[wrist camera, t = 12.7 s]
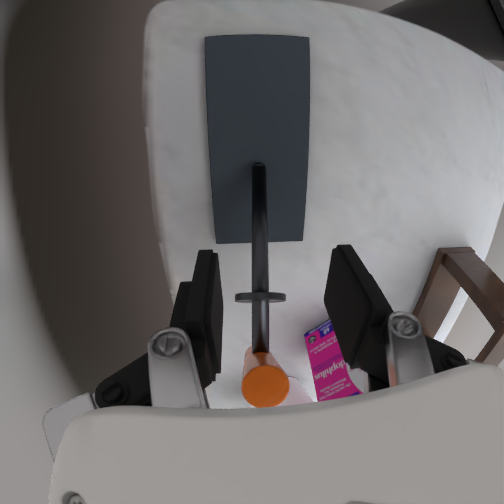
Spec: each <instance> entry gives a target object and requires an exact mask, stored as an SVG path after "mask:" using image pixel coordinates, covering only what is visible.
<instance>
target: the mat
mask: <svg viewBox="0 0 504 504" xmlns="http://www.w3.org/2000/svg"><path fill="white" fill-rule="evenodd" d="M205 70H206V100H207V122H208V140H209V157H210V172H211V186H212V199H213V211H214V223H215V234H216V243H217V244H228V243H252V166H253V164H255V163H257V162H261V163H263V164H264V165H265V166H266V182H267V220H268V242H283V241H302V240H303V231H304V218H305V204H306V189H307V171H308V149H309V118H310V45H309V38H308V37H299V36H286V35H257V34H250V35H222V36H208V37H205Z"/></svg>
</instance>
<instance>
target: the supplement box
mask: <svg viewBox="0 0 504 504" xmlns="http://www.w3.org/2000/svg"><path fill="white" fill-rule="evenodd" d="M304 336H305V341H306V345H307V350H308V355H309V360H310V364H311V369H312V374H313V379H314V384H315V389H316V394H317V400H318V402H320V401H326V400H332V399H338V398H344V397H349V396H354V395H359V394H364V375H363V374H364V371H362V370H361V369H360V368H357V369H352V370H351V369H350V366H349V363H345V362H344V359H343V356H342V353H341V350H340V347H339V344H338V341H337V338H336V335H335V332H334V329H333V326H332V323H331V321H330V320H328V321H326V322H325V323H323V324H322V325H320V326H318V327H317V328H315V329H313V330H311V331H309V332H308V333H306V334H305V335H304Z"/></svg>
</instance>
